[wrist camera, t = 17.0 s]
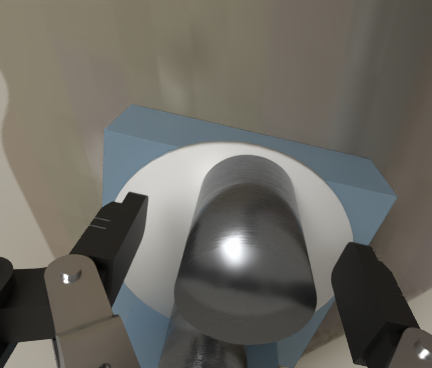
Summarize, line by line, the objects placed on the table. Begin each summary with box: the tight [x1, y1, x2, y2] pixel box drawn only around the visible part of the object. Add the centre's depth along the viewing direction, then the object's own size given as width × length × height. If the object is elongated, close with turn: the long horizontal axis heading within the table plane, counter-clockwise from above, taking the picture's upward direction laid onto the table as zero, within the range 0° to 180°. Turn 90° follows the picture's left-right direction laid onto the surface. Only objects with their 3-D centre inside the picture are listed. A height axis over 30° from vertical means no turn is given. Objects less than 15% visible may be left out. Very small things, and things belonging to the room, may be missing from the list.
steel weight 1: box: [174, 155, 317, 345], centre depth 12 cm, size 4×4×6 cm
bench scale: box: [102, 104, 397, 368], centre depth 19 cm, size 16×14×8 cm
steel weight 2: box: [158, 300, 248, 368], centre depth 17 cm, size 4×4×6 cm
